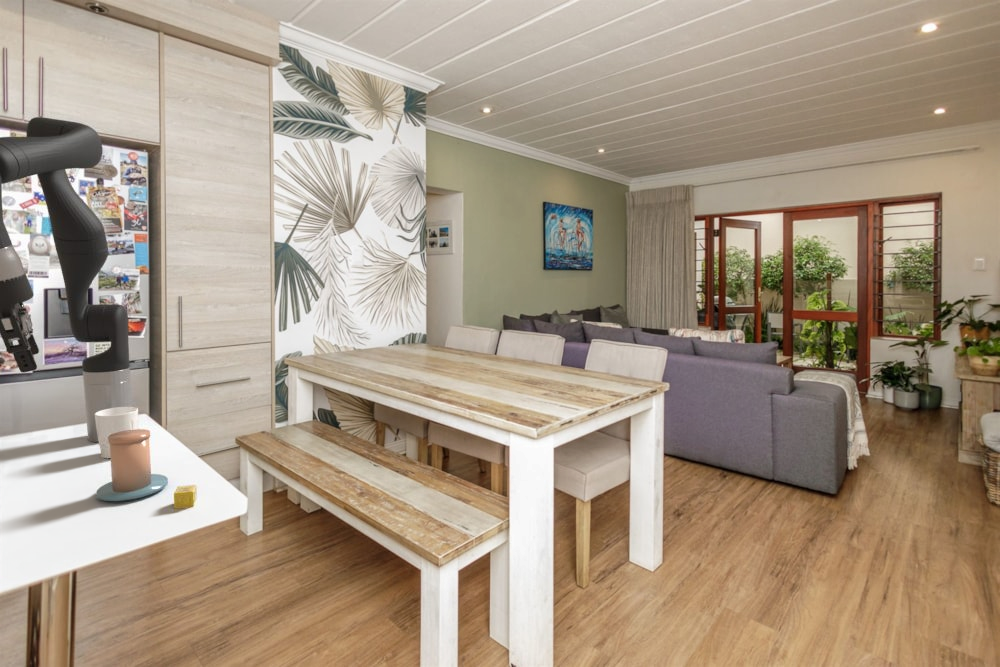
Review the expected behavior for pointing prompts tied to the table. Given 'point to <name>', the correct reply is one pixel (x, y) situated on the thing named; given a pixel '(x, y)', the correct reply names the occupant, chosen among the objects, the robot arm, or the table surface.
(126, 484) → the dome-topped peach cylinder
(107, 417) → the white cup
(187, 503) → the alphabet block
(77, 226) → the robot arm
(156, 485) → the blue-grey round disc
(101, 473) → the table surface
